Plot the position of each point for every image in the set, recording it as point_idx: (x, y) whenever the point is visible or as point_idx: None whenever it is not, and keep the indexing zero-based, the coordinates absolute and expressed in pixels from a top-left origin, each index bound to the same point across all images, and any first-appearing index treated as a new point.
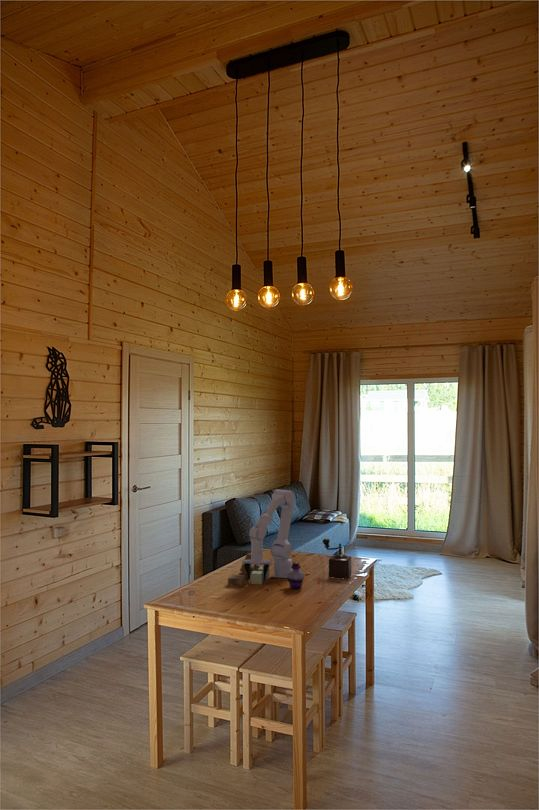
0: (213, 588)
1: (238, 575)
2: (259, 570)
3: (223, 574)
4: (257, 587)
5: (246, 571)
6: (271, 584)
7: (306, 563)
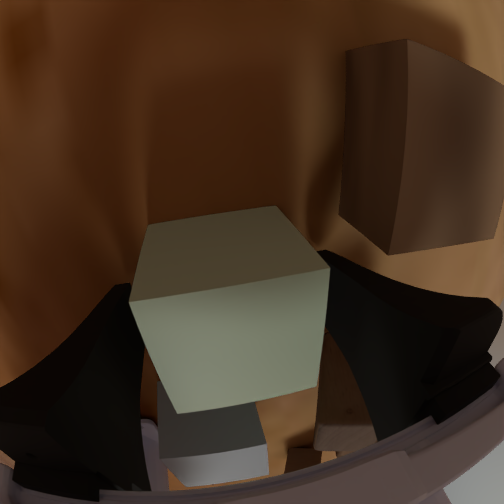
0: (500, 30)
1: (457, 217)
2: (249, 435)
3: None
4: (143, 69)
5: (412, 286)
6: (41, 255)
7: None
